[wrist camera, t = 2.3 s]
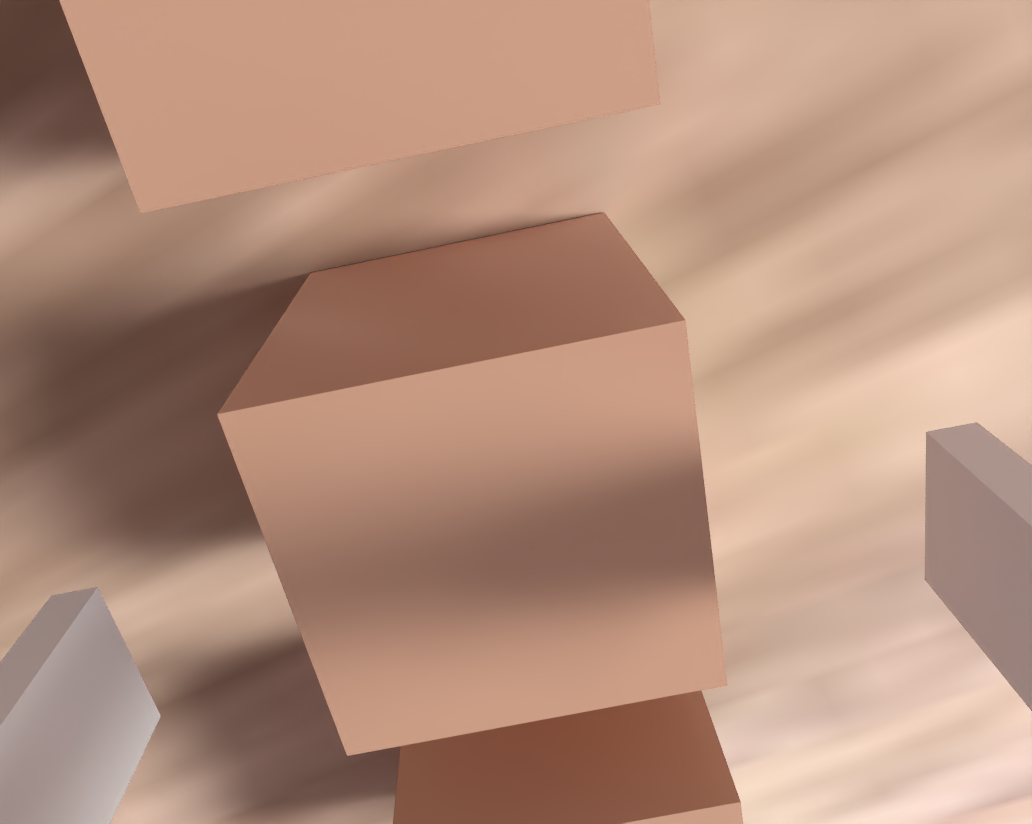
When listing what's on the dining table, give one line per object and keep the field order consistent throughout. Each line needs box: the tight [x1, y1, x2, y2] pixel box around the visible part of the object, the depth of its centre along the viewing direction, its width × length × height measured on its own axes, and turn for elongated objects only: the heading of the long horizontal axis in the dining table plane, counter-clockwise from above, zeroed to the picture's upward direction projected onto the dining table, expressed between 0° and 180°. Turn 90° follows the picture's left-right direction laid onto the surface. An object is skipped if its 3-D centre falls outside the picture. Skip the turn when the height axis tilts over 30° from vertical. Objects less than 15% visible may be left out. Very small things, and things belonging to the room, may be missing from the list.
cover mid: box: [217, 213, 727, 756], centre depth 17 cm, size 7×7×8 cm
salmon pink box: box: [393, 690, 743, 824], centre depth 21 cm, size 7×7×8 cm
